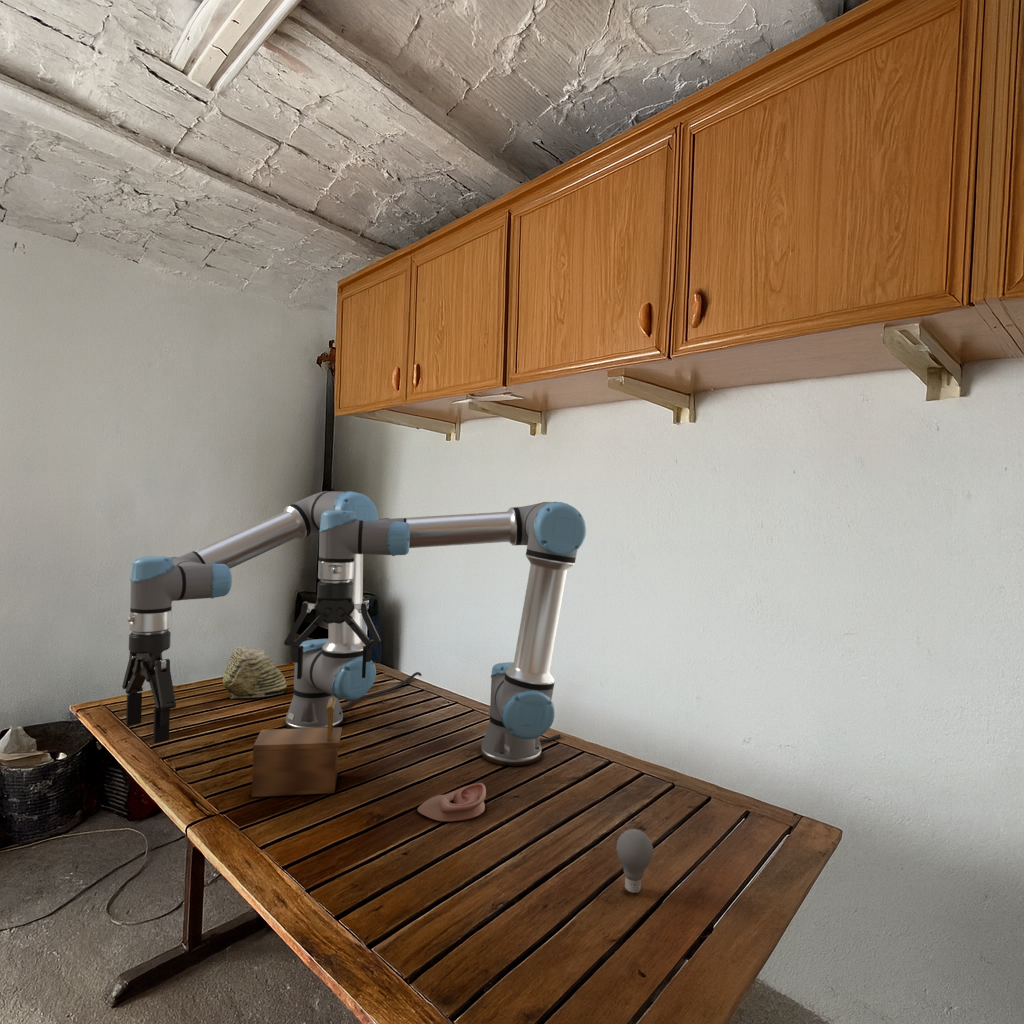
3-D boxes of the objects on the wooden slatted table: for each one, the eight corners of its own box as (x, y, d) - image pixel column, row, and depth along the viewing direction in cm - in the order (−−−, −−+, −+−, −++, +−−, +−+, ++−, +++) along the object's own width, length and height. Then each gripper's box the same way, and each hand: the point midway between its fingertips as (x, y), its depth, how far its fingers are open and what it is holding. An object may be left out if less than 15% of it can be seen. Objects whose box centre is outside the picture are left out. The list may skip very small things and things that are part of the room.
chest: (337, 774, 145) (338, 732, 144) (334, 793, 136) (336, 748, 136) (259, 778, 141) (261, 734, 141) (251, 797, 132) (253, 751, 132)
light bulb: (610, 879, 108) (613, 822, 108) (644, 879, 109) (647, 822, 109) (619, 902, 102) (622, 840, 102) (655, 901, 103) (658, 840, 103)
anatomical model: (412, 797, 126) (431, 773, 138) (411, 817, 126) (430, 791, 138) (476, 807, 124) (490, 781, 135) (476, 827, 124) (489, 800, 135)
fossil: (218, 695, 195) (220, 647, 195) (278, 685, 208) (279, 640, 207) (228, 703, 189) (230, 653, 188) (289, 692, 201) (290, 645, 201)
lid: (341, 732, 144) (343, 695, 144) (339, 747, 136) (340, 708, 135) (261, 734, 141) (262, 696, 141) (253, 750, 132) (254, 710, 132)
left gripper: (107, 624, 136) (104, 721, 137) (156, 644, 121) (153, 754, 121) (144, 619, 142) (141, 713, 143) (196, 638, 127) (193, 743, 127)
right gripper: (272, 581, 133) (269, 682, 133) (393, 583, 138) (389, 680, 138) (278, 577, 140) (275, 672, 140) (393, 579, 145) (389, 671, 145)
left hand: (146, 732), depth 132 cm, fingers open, 13 cm apart
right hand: (332, 677), depth 139 cm, fingers open, 13 cm apart
